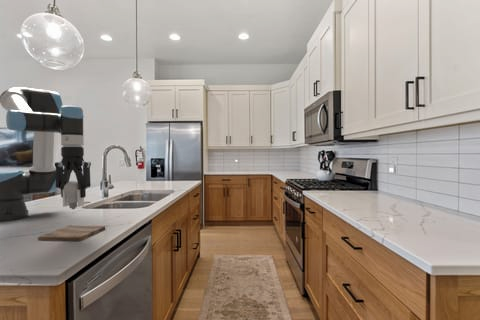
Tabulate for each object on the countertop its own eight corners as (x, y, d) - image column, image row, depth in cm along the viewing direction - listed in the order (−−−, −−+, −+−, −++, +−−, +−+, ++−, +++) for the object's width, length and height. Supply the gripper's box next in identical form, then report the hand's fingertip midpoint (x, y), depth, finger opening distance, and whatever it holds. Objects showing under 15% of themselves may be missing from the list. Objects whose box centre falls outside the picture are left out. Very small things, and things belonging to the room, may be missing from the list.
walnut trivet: (69, 228, 116) (69, 225, 116) (105, 229, 115) (105, 226, 115) (38, 239, 100) (38, 236, 100) (79, 241, 99) (79, 237, 99)
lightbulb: (86, 208, 109) (85, 180, 109) (72, 211, 103) (71, 181, 103) (74, 207, 111) (73, 180, 111) (60, 210, 105) (59, 181, 105)
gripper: (42, 146, 104) (44, 207, 104) (88, 145, 102) (89, 207, 103) (57, 147, 111) (58, 204, 112) (100, 146, 110) (101, 204, 110)
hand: (73, 205), depth 107 cm, fingers closed on lightbulb, 5 cm apart
